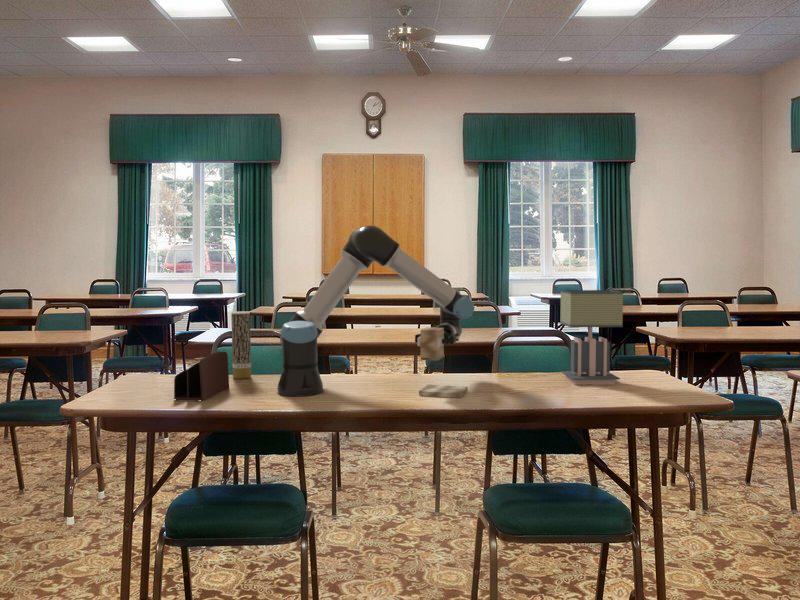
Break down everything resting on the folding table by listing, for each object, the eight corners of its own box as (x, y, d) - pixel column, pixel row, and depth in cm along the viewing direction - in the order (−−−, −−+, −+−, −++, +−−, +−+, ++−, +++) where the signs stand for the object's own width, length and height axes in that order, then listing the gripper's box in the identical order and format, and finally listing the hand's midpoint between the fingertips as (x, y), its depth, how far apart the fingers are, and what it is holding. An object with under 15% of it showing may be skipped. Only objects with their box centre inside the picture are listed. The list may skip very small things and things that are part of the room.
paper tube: (231, 377, 237) (229, 311, 236) (248, 375, 241) (247, 311, 239) (235, 380, 231) (233, 313, 230) (253, 378, 235) (251, 312, 233)
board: (418, 395, 203) (418, 390, 203) (427, 388, 214) (427, 384, 214) (461, 398, 199) (461, 393, 199) (467, 391, 209) (467, 386, 209)
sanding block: (420, 359, 205) (420, 329, 205) (426, 356, 213) (426, 327, 212) (438, 360, 204) (438, 330, 203) (443, 357, 211) (443, 327, 211)
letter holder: (229, 389, 216) (228, 348, 215) (202, 402, 197) (201, 357, 196) (202, 388, 218) (201, 348, 217) (173, 401, 198) (172, 357, 197)
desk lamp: (608, 377, 232) (609, 290, 230) (622, 385, 218) (623, 292, 216) (559, 377, 232) (560, 290, 230) (569, 385, 218) (570, 292, 216)
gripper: (470, 345, 223) (457, 355, 200) (418, 343, 228) (400, 352, 206) (470, 324, 222) (457, 331, 200) (418, 323, 228) (400, 329, 205)
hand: (428, 342), depth 203 cm, fingers closed on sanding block, 6 cm apart
